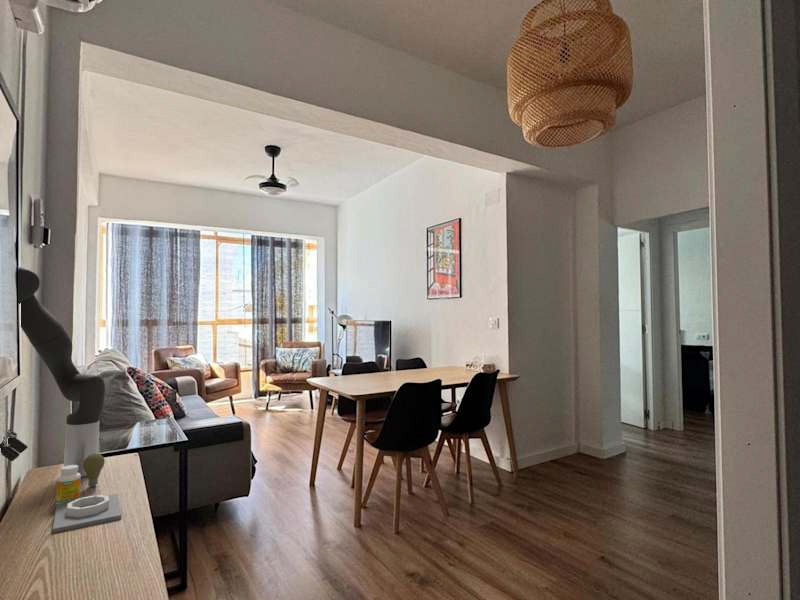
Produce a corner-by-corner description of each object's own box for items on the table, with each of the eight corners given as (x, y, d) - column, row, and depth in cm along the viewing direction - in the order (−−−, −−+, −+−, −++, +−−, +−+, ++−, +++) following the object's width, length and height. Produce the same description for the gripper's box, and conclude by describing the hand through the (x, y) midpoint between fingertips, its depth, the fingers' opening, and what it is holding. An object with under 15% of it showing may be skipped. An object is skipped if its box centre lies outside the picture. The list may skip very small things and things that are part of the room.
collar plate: (56, 508, 119) (57, 496, 119) (117, 497, 127) (117, 486, 128) (52, 533, 105) (53, 520, 105) (121, 518, 113) (121, 506, 113)
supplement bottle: (59, 507, 120) (61, 471, 121) (53, 502, 123) (55, 467, 124) (82, 501, 124) (84, 466, 125) (75, 496, 127) (77, 462, 128)
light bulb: (77, 487, 134) (79, 454, 135) (97, 482, 139) (98, 450, 140) (87, 491, 132) (89, 457, 133) (107, 485, 137) (108, 452, 137)
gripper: (-29, 408, 110) (27, 449, 115) (-11, 400, 122) (39, 437, 127) (-60, 432, 107) (-1, 473, 112) (-38, 421, 119) (14, 458, 124)
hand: (20, 454), depth 119 cm, fingers open, 8 cm apart
